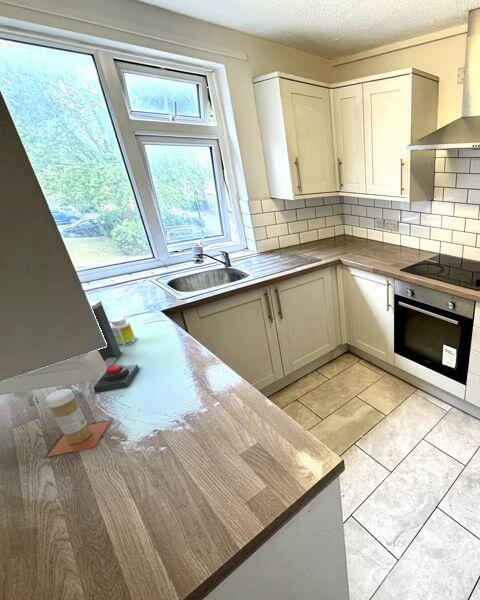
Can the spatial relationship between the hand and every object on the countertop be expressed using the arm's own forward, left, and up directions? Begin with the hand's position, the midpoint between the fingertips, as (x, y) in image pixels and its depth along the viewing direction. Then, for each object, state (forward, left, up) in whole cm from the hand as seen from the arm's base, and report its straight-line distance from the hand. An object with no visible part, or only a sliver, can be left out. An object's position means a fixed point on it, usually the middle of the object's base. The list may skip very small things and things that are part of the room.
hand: (60, 399), depth 77 cm
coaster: (0, 0, -12) cm, 12 cm away
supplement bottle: (-8, +52, -13) cm, 54 cm away
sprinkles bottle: (0, 0, -12) cm, 12 cm away
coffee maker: (-12, +36, -12) cm, 40 cm away
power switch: (-1, +25, -12) cm, 28 cm away
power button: (-1, +25, -9) cm, 26 cm away
